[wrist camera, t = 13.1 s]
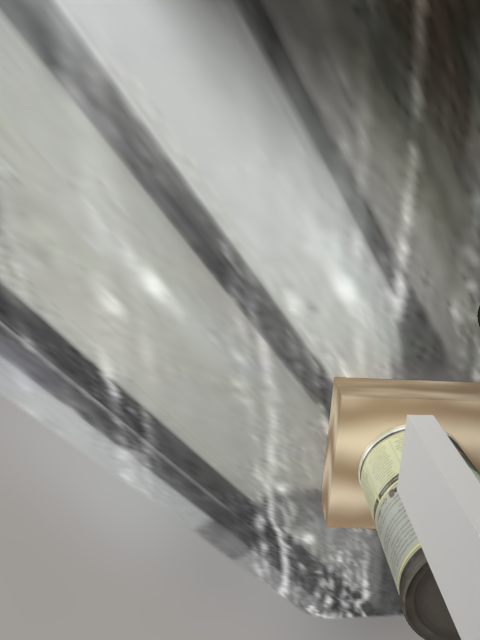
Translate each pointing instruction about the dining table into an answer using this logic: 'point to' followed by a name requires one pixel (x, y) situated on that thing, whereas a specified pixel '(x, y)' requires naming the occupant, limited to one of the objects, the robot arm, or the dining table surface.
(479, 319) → the coffee mug
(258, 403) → the dining table surface
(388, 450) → the coffee can
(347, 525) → the oak riser
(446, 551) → the robot arm
